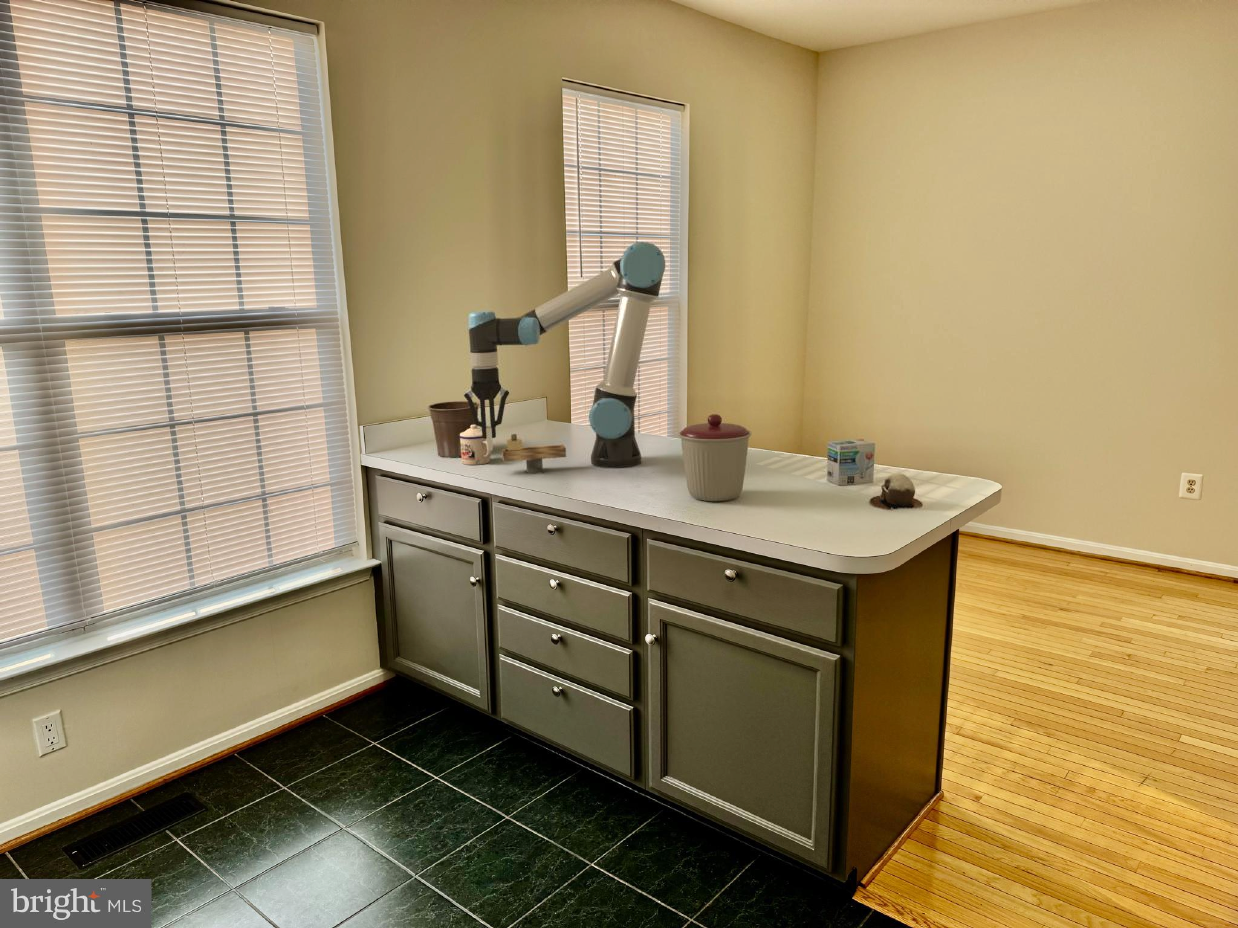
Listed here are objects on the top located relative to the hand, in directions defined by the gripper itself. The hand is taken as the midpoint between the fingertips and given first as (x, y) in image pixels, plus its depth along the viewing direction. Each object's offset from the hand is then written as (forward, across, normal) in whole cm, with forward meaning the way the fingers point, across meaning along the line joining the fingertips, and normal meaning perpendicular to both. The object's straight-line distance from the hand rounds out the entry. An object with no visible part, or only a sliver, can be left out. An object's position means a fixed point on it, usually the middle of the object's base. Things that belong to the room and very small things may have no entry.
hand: (489, 449), depth 253 cm
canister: (+8, -52, +45) cm, 70 cm away
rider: (+2, -7, 0) cm, 7 cm away
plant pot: (+8, +8, -33) cm, 35 cm away
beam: (+7, -13, 0) cm, 15 cm away
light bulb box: (+8, -92, +41) cm, 101 cm away
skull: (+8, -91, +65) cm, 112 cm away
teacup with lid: (+8, +2, -17) cm, 19 cm away
